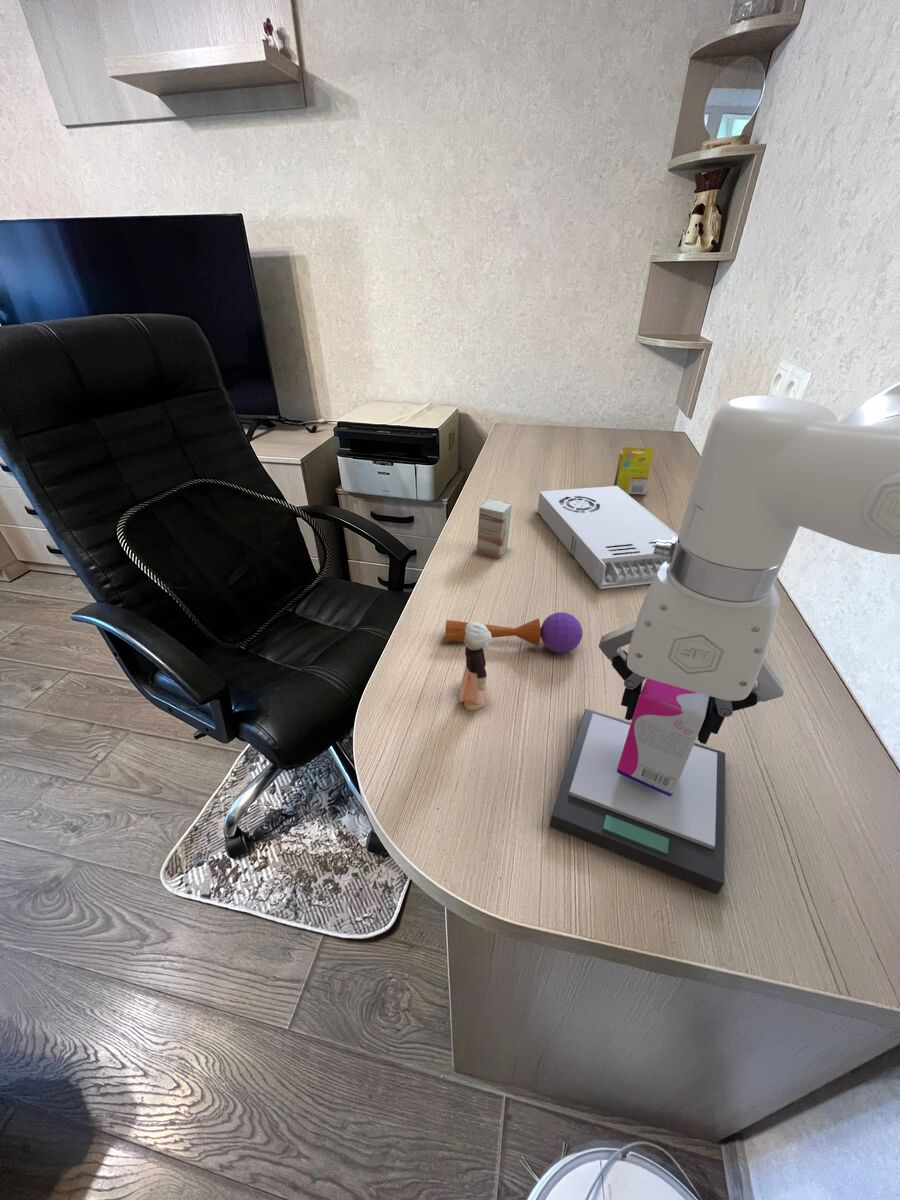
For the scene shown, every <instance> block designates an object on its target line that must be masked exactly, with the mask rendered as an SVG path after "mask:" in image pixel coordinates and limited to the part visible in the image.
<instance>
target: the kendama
mask: <svg viewBox="0 0 900 1200" xmlns="http://www.w3.org/2000/svg"><path fill="white" fill-rule="evenodd" d="M468 623H469V622H467V621H461V620H451V619H450V620H449V619H446V621H445V626H444V627H445V628H444V629H445V631H444V633H445V634H444V635H445V642H447V643H450V642H459V641H460V642H461V641H464V637H465V634H466V633H465V627H466V625H467V624H468ZM483 624H484V623H483ZM484 625H485V626H486V627H487V629H488V630H489V632H490V633H491V637H492V639H493V638H494V639H495V638H503V637H517V638H519V639H522V640H524V641H525V642H528V643H530V644H532V645H534V646H537V647H540V642H541V641H542V643H543V645H544V646H545V647H546V648H547V649H548V650H549V651H552V652H554V653H556V654H566V653H569V652H571V651H574V650H575V649H576V648H577V647H578V646H579V645H580V644H581V641H582V639H583V627H582V625H581V623H580V621H579V620H578V619H577V618H576V617H575V616H574V615H573V614H570V613H568V612H567V611H566V612H564V611H562V612H560V611H557V612H555V613H551V614H549V615H548V616H547V617H546V618H545V619H544V620H543V622H542V624H541V622H540V617H538V618H535V619H533V620H530V621H529V622H526V623H524V624H522V625H519V626H517V627H507V626H499V625H493V624H484Z"/></svg>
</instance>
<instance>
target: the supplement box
mask: <svg viewBox="0 0 900 1200" xmlns="http://www.w3.org/2000/svg"><path fill="white" fill-rule="evenodd" d="M709 698H710V696H708V695H704V694H701V693H697V692H693V691H690V690H686V689H683V688H679V687H676V686H672V685H669V684H665V683H662V682H658V681H655V680H651V679H648V678H646V679H645V682H644V684H643V685H642V689H641V693H640V695H639V698H638V702H637V705H636V708H635V712H634V715H633V718H632V720H630V723H631V725H630V728H629V731H628V735H627V738H626V741H625V744H624V748H623V751H622V754H621V758H620V761H619V764H618V767H617V773H619V774H621V775H623V776H626V777H628V778H630V779H632V780H634V781H636V782H639V783H641V784H643V785H645V786H647V787H650V788H652V789H654V790H656V791H658V792H661V793H663V794H665V795H667V796H669V797H672V795H673V793H674V791H675V788H676V786H677V784H678V781H679V779H680V777H681V774H682V772H683V770H684V767H685V765H686V762H687V760H688V757H689V755H690V753H691V750H692V748H693V745H694V743H696V741H697V739H698V733H699V731H700V729H701V726H702V724H703V722H704V719H705V715H706V711H707V707H708V703H709Z"/></svg>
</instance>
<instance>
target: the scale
mask: <svg viewBox="0 0 900 1200" xmlns="http://www.w3.org/2000/svg"><path fill="white" fill-rule="evenodd" d="M630 725H631V721H627V720H624V719H620V718H617V717H614V716H611V715H607V714H604V713H601V712H597V711H595V710H591V709H589V708H585V709H584V712H583V715H582V718H581V722H580V725H579V727H578V731H577V734H576V737H575V740H574V744H573V747H572V750H571V753H570V755H569V756H570V757H569V759H568V763H567V765H566V768H565V772H564V775H563V778H562V781H561V784H560V788H559V791H558V793H557V797H556V800H555V803H554V806H553V809H552V812H551V816H550V821H549V827H551V828H553V829H556V830H558V831H560V832H563V833H565V834H568V835H571V836H573V837H575V838H578V839H581V840H583V841H585V842H588V843H590V844H592V845H594V846H598V847H599V848H600V847H601V848H603V849H605V850H607V851H609V852H611V853H614V854H618V855H619V856H622V857H625V858H627V859H630V860H632V861H635V862H637V863H640V864H642V865H644V866H646V867H649V868H652V869H653V870H654V869H655V870H657V871H659V872H661V873H664V874H667V875H669V876H671V877H674V878H677V879H679V880H681V881H684V882H686V883H689V884H691V885H693V886H696V887H699V888H701V889H703V890H706V891H708V892H711V893H714V894H716V895H718V894H719V893H720V891H721V889H722V888H723V887H724V885H725V844H726V843H725V839H726V838H725V837H726V835H725V832H726V830H725V829H726V823H725V822H726V812H725V811H726V752H725V751H722V750H717V749H715V748H712V747H708V746H705V745H702V744H699V743H696V742H695V743H694V745H693V748H692V750H691V753H690V755H689V757H688V760H687V762H686V765H685V767H684V770H683V772H682V774H681V777H680V779H679V781H678V784H677V786H676V788H675V791H674V793H673V795H672V797H669V796H667V795H665V794H663V793H661V792H658V791H656V790H654V789H652V788H650V787H647V786H645V785H643V784H641V783H639V782H636V781H634V780H632V779H630V778H628V777H626V776H623V775H621V774H619V773H617V767H618V764H619V761H620V758H621V754H622V751H623V748H624V744H625V741H626V738H627V735H628V731H629V728H630Z"/></svg>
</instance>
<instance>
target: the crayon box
mask: <svg viewBox="0 0 900 1200" xmlns="http://www.w3.org/2000/svg"><path fill="white" fill-rule="evenodd" d="M638 450H640V451H638ZM654 452H655V447H640V446H639V447H637V446H636V447H635V446H623V450H622V451H619V456H618V460H617V461H618V462H617V467H616V472H615V477H614V483H613V486H618V487H619V488H620V489H622V490H623V491H624V492H625V493H627V494H628V495H642V496H645V494H646V489H647V485H648V481H649V476H650V475H649V474H650V471H651V467H652V462H653V457H654Z"/></svg>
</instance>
